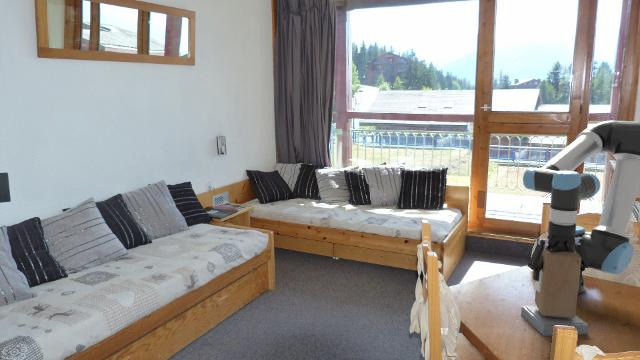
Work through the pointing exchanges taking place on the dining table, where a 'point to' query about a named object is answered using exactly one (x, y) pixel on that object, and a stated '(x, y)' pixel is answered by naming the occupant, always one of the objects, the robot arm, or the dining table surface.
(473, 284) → the dining table surface
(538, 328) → the slate tray
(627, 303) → the dining table surface
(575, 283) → the wooden block
